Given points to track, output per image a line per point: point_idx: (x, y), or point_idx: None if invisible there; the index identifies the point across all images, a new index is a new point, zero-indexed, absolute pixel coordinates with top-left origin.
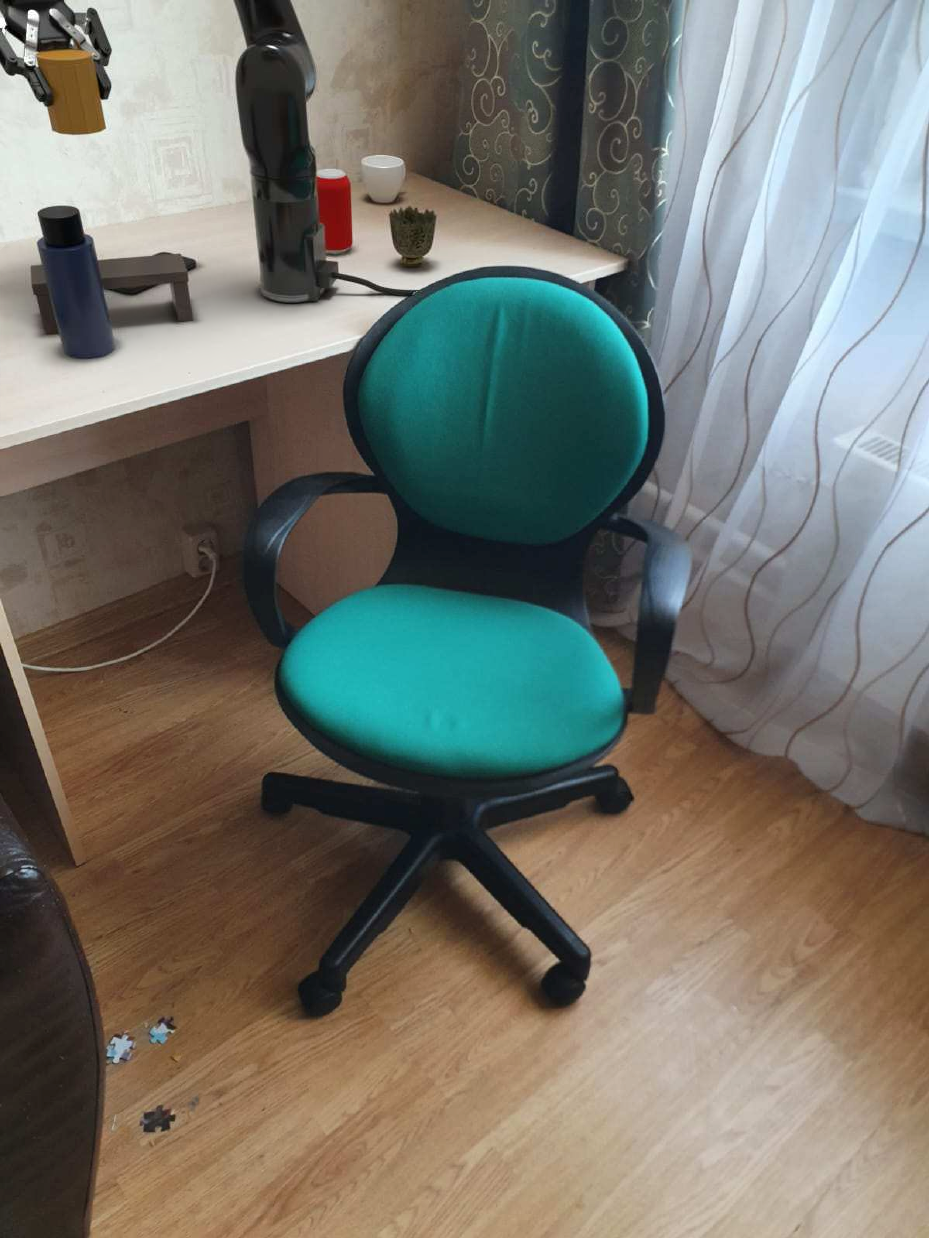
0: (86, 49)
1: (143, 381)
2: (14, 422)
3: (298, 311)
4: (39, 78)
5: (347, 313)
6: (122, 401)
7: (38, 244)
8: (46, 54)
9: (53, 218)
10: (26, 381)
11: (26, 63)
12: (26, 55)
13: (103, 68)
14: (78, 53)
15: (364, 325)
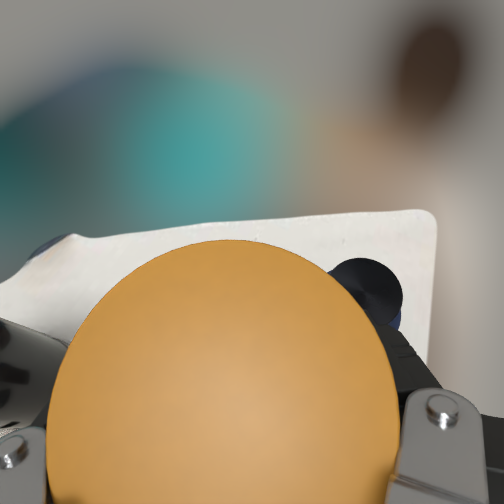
0: (23, 486)
1: (301, 243)
2: (434, 223)
3: (77, 321)
4: (389, 347)
5: (41, 289)
6: (332, 217)
7: (399, 311)
8: (326, 433)
9: (378, 262)
10: (414, 298)
11: (464, 402)
12: (470, 443)
13: (40, 415)
14: (128, 386)
15: (51, 254)
